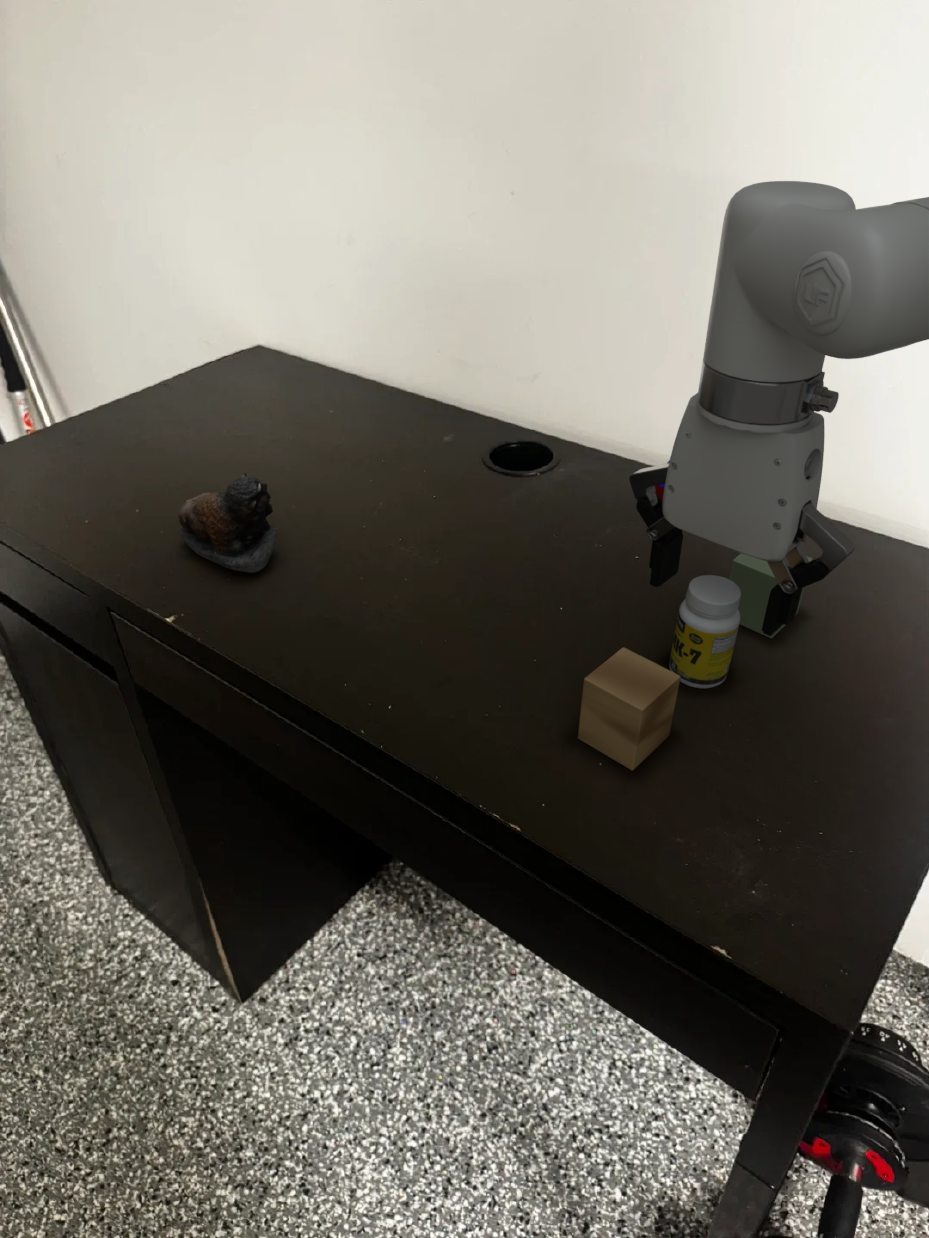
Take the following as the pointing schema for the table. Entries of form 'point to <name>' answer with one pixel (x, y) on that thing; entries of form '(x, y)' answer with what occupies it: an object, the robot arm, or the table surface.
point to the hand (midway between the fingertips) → (717, 602)
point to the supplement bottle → (706, 631)
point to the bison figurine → (231, 525)
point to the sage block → (754, 590)
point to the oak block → (627, 707)
